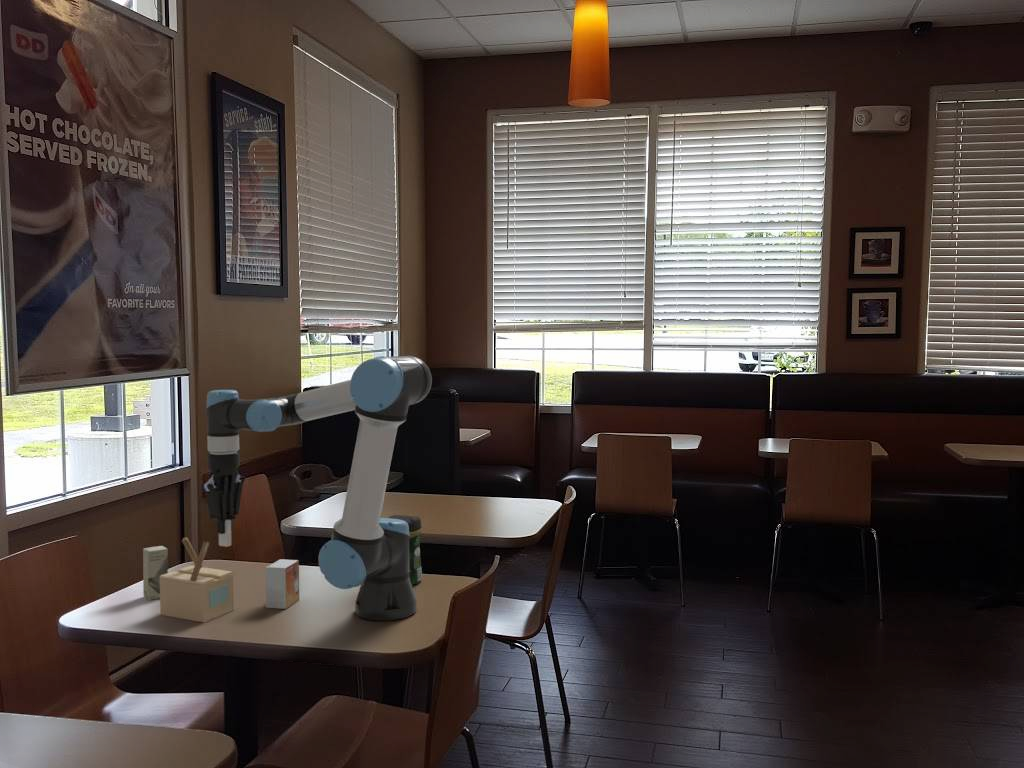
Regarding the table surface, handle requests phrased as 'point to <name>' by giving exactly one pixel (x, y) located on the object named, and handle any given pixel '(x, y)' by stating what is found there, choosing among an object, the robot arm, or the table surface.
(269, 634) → the table surface
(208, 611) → the carton
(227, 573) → the right flap
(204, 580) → the left flap
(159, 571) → the box
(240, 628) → the table surface
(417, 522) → the coffee jar
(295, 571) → the small box
